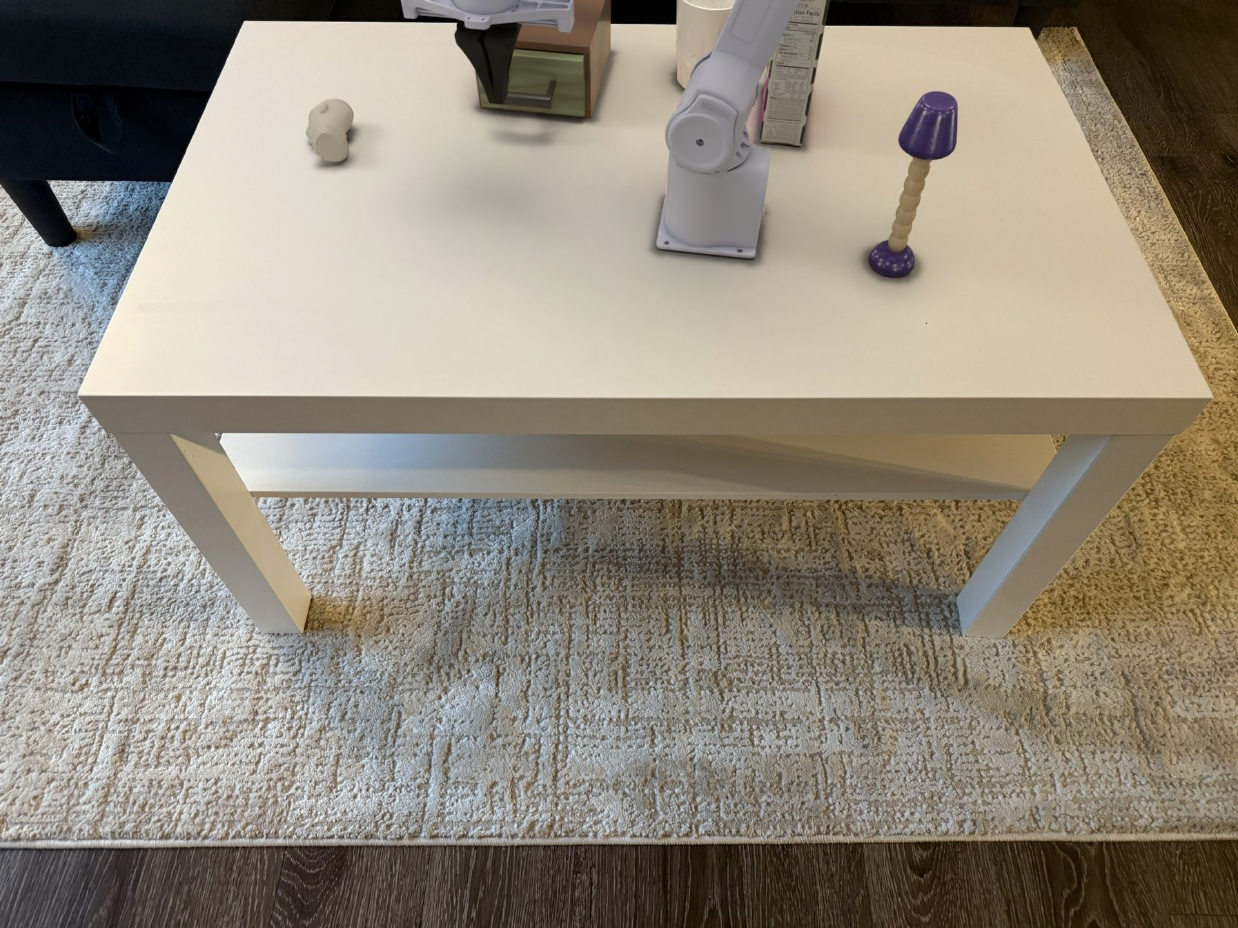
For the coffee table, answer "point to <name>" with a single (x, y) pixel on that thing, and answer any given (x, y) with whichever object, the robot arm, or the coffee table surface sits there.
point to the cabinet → (576, 45)
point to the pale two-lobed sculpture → (330, 129)
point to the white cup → (697, 32)
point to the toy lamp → (917, 175)
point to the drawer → (544, 83)
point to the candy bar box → (793, 75)
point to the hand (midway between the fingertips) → (498, 98)
